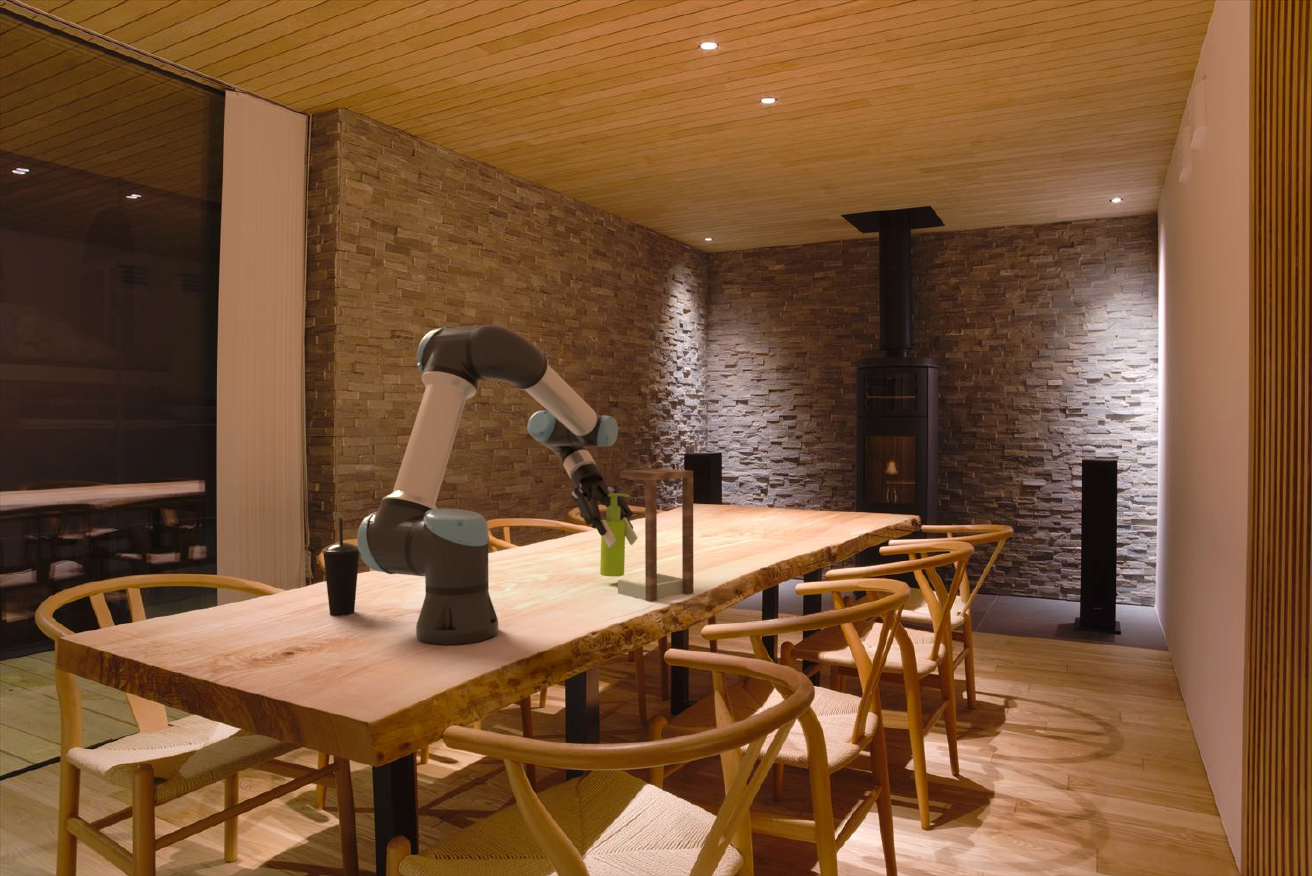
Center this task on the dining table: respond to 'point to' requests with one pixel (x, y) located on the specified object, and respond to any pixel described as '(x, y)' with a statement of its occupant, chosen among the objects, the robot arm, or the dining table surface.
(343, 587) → the drinking cup
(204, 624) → the dining table surface
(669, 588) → the holder
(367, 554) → the robot arm
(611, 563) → the soap dispenser
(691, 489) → the wooden post arch
